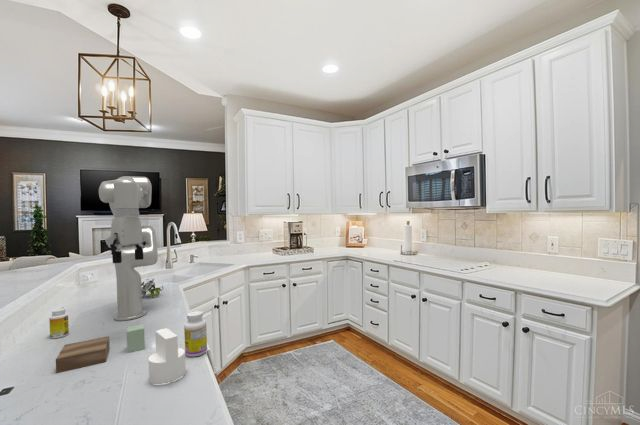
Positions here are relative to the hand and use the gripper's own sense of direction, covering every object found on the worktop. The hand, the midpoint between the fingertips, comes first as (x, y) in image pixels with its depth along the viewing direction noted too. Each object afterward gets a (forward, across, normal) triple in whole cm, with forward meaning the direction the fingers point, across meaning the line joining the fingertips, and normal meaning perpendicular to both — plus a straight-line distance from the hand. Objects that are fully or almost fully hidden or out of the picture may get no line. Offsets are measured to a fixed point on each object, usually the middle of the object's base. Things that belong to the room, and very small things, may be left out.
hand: (128, 261), depth 111 cm
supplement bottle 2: (+30, +5, +29) cm, 42 cm away
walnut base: (+29, +14, -4) cm, 33 cm away
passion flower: (+26, -57, -41) cm, 75 cm away
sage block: (+29, +4, +6) cm, 30 cm away
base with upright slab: (+31, +19, +30) cm, 47 cm away
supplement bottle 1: (+28, -1, -34) cm, 44 cm away
